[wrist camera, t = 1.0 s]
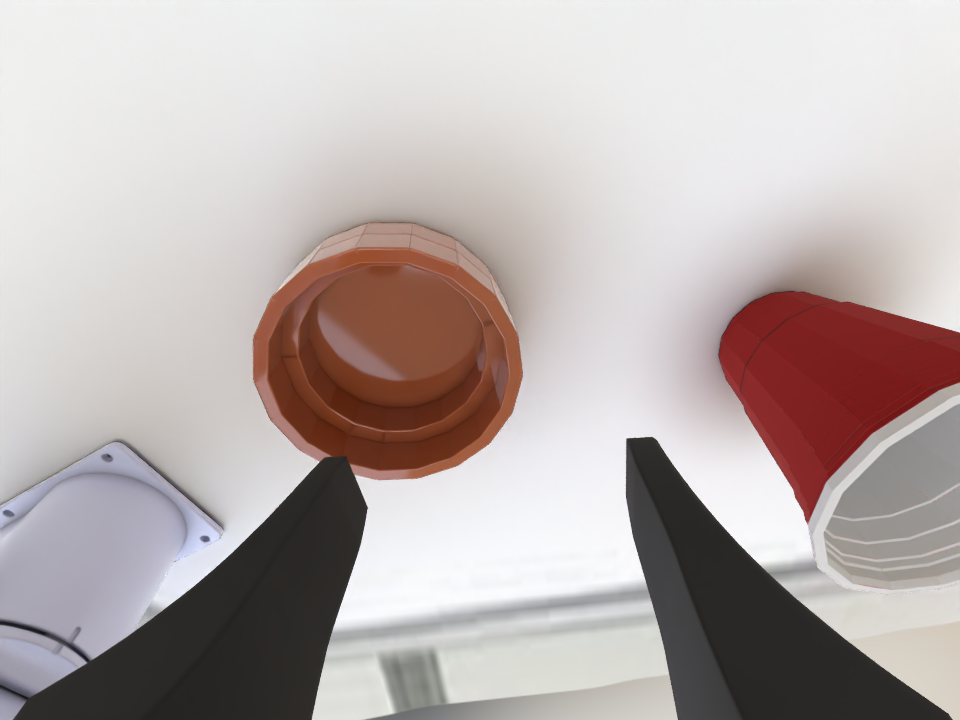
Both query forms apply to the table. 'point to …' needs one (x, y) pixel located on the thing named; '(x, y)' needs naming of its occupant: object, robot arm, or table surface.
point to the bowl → (389, 352)
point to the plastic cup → (858, 433)
